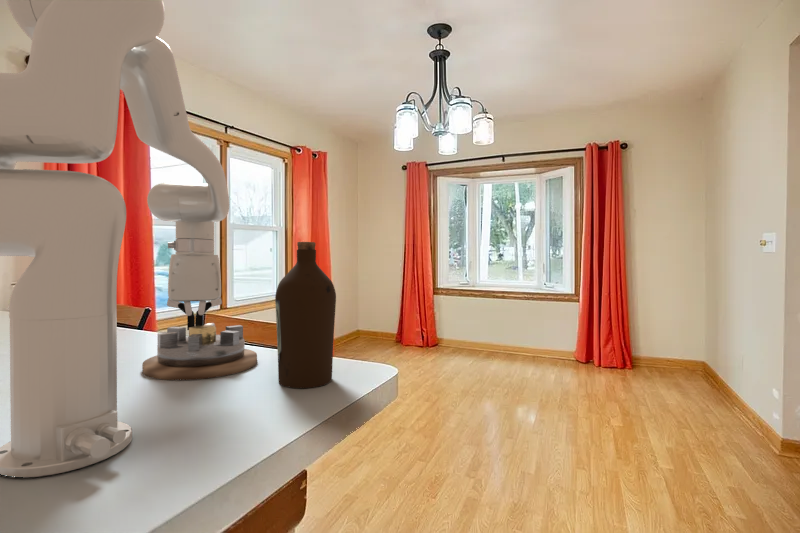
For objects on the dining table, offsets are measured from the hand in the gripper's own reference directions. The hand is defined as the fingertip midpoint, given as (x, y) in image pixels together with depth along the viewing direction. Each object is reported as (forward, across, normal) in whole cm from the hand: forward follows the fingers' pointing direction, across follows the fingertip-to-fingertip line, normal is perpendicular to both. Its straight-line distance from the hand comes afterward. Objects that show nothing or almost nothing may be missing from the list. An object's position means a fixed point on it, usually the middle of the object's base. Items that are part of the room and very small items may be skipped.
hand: (195, 333), depth 93 cm
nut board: (+6, +1, -7) cm, 9 cm away
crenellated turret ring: (+4, +1, -7) cm, 8 cm away
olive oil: (+6, +18, -26) cm, 32 cm away
